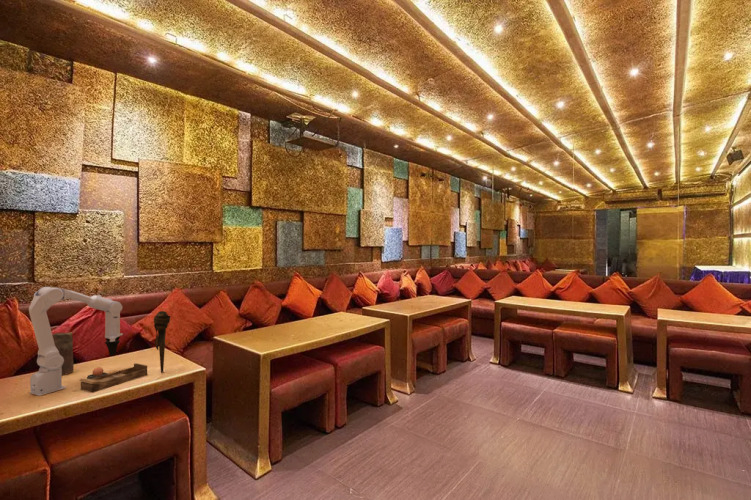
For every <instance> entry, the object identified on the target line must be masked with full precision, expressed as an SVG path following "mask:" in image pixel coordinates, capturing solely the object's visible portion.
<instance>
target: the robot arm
mask: <svg viewBox="0 0 751 500" xmlns="http://www.w3.org/2000/svg"><path fill="white" fill-rule="evenodd" d="M68 299H69V300H73V301H77V302H80V303H84V304H85V303H86V305H87V307H88V308H91V309H95V310H100V311H102V312H104V313H105V324H104V326H105V328H104V330H105V331H104V332H105V334H104V338H105V342H104V343H105V345H106V347H107V349H108V354H109V355H108V356H109V357H113V356H116V353H117V350H118V346H119V343H120V342H121V341H120V338H121V337H120V336H123V332H122V333H121V315H120V314H121V312H122V310H123V305H122V303H121V301H116V300H113V299H112V298H107V297H102V295H100V294H97V295H96V294H94V295H91V296H90V295H89V296H88V295H86V294H83V293H80V292H77V291H74V290H71V289H66V288H60V287H51V286H43V287H41V288H39V289H37V291H35V293H33V299H32V301H31V303H30V305H29V307H28V313H29V317H30V320H31V324H32V328H33V333H34V336H35V340H36V343H37V346H38V351H37V359H36V363H37V366H39V369H38V371H36V372H35V373H32V374H30V378H29V379H30V381H29V382H30V383H29V384H30V391H29V394H31V395H34V396H43V395H47V394H51V393H54V392H57V391H60V390H64V389H67V386H64V385H63V384H62V382H63V381H62V378H63V375H62V368H61V367H62V365H63V363H64V358H63V357H62V356H61V355H60V354H59V351H58V349H57V348H56V347H55V343H54V340H53V333H52V329H51V324H50V320H49V317H48V314H47V312H48V310H49V309H50V308H51V307H52V306H53V305H55V304H57V303H58V302H60V301H61V300H64V301H65V300H68Z"/></svg>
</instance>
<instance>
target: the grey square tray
mask: <svg viewBox="0 0 751 500" xmlns="http://www.w3.org/2000/svg"><path fill="white" fill-rule="evenodd" d="M107 374H109V373H107V372H105V371H103V374H102V375H100V376H103V375H107ZM100 376H94V375H93V373H91V374H88V375H87V377H86V379H93V378H96V377H100Z"/></svg>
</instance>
